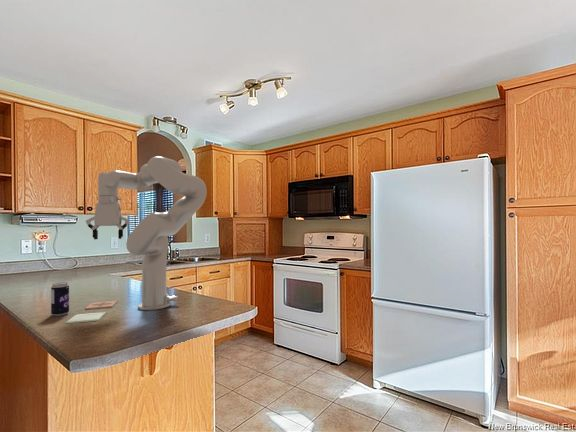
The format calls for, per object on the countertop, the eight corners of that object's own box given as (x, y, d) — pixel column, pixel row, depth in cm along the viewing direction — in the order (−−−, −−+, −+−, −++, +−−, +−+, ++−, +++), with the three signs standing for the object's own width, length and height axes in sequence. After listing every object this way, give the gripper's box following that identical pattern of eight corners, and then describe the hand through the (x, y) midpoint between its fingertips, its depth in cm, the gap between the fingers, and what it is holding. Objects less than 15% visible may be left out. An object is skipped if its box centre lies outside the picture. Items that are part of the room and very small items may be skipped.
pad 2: (117, 302, 144) (117, 300, 144) (112, 307, 135) (112, 305, 135) (92, 304, 142) (92, 302, 142) (84, 309, 132) (84, 307, 132)
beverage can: (59, 316, 122) (59, 284, 122) (47, 316, 123) (47, 284, 123) (72, 312, 127) (72, 282, 128) (60, 312, 129) (60, 282, 129)
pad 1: (105, 313, 125) (105, 311, 125) (98, 320, 116) (98, 318, 116) (76, 316, 122) (76, 314, 122) (66, 323, 113) (66, 321, 113)
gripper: (130, 201, 150) (131, 238, 149) (88, 201, 145) (88, 239, 144) (127, 199, 142) (127, 238, 142) (83, 199, 138) (83, 239, 137)
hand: (108, 239), depth 143 cm, fingers open, 9 cm apart
